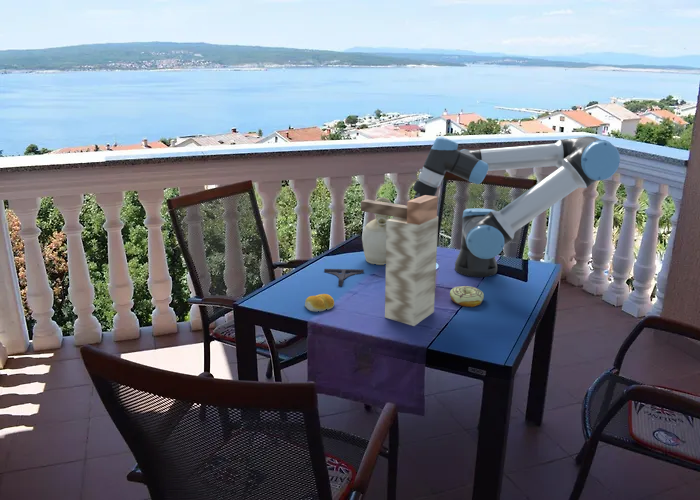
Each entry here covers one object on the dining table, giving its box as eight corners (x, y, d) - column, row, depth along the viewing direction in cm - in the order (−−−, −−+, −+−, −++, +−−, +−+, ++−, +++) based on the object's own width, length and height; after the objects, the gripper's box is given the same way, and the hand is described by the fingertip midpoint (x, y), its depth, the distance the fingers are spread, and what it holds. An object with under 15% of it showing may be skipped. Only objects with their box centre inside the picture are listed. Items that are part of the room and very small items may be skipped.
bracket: (319, 287, 189) (319, 279, 188) (324, 272, 203) (324, 265, 202) (361, 288, 188) (361, 281, 187) (363, 273, 202) (363, 266, 201)
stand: (384, 317, 164) (386, 220, 154) (405, 304, 173) (408, 211, 164) (414, 326, 158) (417, 225, 149) (433, 312, 167) (438, 216, 158)
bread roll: (339, 307, 171) (338, 296, 170) (313, 314, 166) (313, 302, 165) (325, 299, 178) (325, 287, 176) (300, 305, 173) (300, 293, 172)
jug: (393, 269, 204) (394, 203, 196) (355, 263, 210) (355, 199, 202) (407, 257, 217) (409, 195, 209) (371, 252, 223) (371, 191, 215)
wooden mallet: (354, 213, 162) (353, 193, 160) (372, 206, 170) (373, 187, 168) (419, 224, 150) (420, 203, 148) (436, 217, 157) (437, 196, 155)
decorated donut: (454, 308, 170) (455, 297, 169) (446, 295, 180) (446, 284, 179) (487, 307, 171) (488, 296, 170) (477, 294, 181) (478, 283, 180)
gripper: (415, 173, 192) (390, 227, 198) (419, 184, 168) (391, 245, 174) (434, 181, 193) (409, 235, 199) (442, 194, 169) (413, 255, 175)
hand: (401, 240), depth 186 cm, fingers open, 13 cm apart
